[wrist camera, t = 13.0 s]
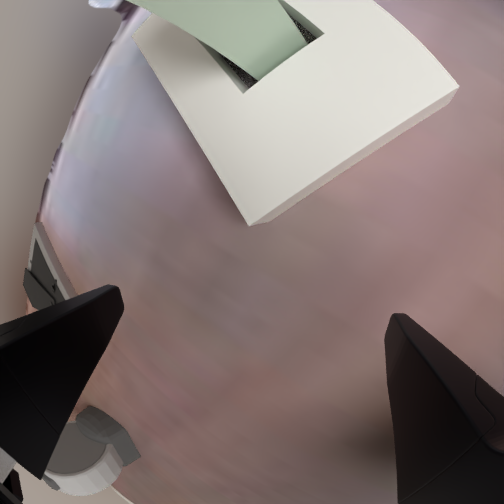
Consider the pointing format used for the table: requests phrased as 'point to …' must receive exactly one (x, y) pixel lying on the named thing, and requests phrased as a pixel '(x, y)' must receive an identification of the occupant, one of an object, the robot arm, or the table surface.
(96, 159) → the table surface
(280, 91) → the slotted board
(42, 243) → the picture frame
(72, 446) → the alarm clock
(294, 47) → the pale green block
